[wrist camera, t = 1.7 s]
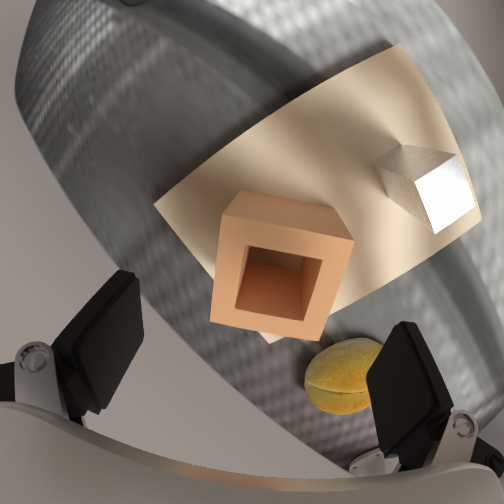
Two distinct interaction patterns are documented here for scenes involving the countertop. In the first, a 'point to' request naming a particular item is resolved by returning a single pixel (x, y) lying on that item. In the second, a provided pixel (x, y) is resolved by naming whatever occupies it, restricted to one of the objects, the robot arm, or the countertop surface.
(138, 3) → the phone
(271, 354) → the countertop surface
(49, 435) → the robot arm
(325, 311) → the square hollow tube
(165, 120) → the countertop surface
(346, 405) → the bread roll
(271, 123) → the base board
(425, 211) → the square shaft
